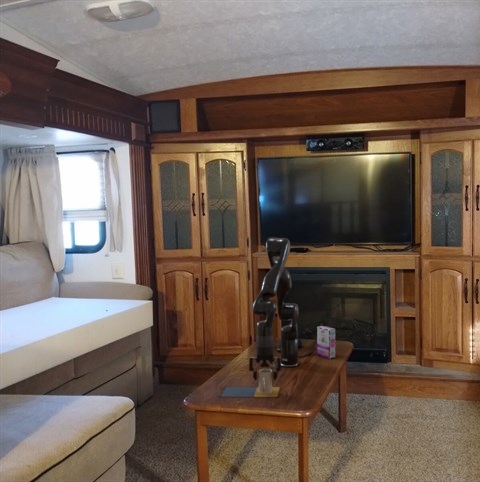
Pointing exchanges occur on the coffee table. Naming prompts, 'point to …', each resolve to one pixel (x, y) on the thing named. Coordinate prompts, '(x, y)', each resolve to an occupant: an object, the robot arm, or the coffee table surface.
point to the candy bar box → (326, 341)
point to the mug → (265, 381)
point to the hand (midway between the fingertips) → (265, 379)
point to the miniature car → (280, 344)
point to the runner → (248, 392)
